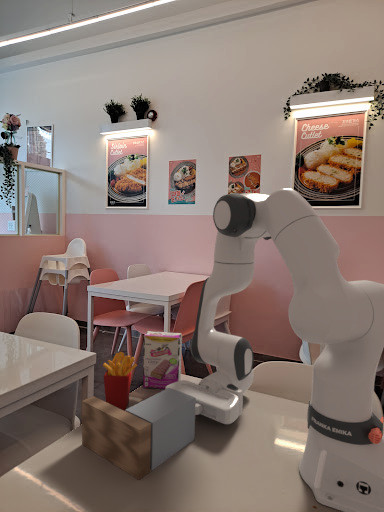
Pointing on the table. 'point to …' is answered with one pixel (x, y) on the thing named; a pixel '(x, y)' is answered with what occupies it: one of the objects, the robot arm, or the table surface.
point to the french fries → (118, 380)
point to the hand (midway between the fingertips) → (181, 412)
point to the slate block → (167, 423)
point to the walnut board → (116, 436)
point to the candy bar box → (161, 359)
